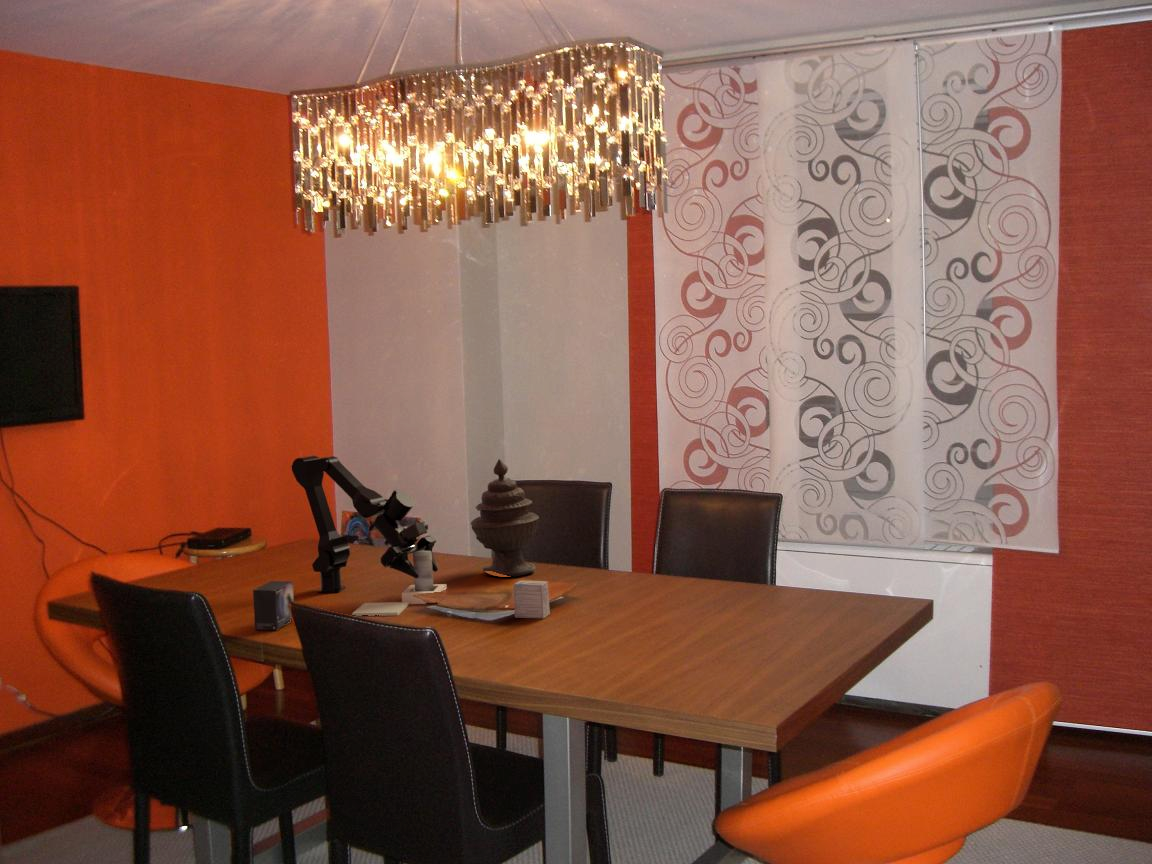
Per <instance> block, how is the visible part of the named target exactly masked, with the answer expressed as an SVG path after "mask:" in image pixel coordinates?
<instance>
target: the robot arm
mask: <svg viewBox="0 0 1152 864" xmlns="http://www.w3.org/2000/svg"><path fill="white" fill-rule="evenodd" d="M291 471H292V474H293V476H294V479H295V480H296V482H297V483H298V484H299V485H300V486H301V487H302V488H303V489H304V491H305V494H306V497H307V500H308V504H309V507H310V510H311V513H312V516H313V521H314V523H315V526H316V529H317V533H318V537H319V539H318V544H317V552H318V555H317V558H316V559H315V560H314V561H313V563H312V564H311V566H312V569H313V572H317V573H319V575H320V588H319V589H318V590H317V591H316V592H318V593H319V592H322V593H324V594H326V592H327V593H340V592H341V591H342V590H344V589H346V587H347V586H346V585H342V573H341V572H342V571H341V568H346V566H347V563H348V559H349V558H350V555H351V552H350V549H351V546H350V545H349V543H348V537H347V536H346V535H345V534H344V535H341V534H339V532H338V530H337V528H336V525H335V522H334V520H333V519H334V518H333V515H332V512H331V509H330V507H329V503H328V500H327V495H326V493H325V490H324V487H323V479H324V476H325V473H326V475H328V477H329V478H330V479H331V480H333V482H334V483H335V484H337V485H338V487H340V489H342V491H344V493H345V494H346V495H347V496H348V497H350V499H351V501H352V505H353V508H354V509H355V511H357V514H358V515H359V516H360V517H362V518H363V519H368V518H374V517H375V519H373V520H371V521H369V526H368V531H369V532H374V531H378V533H380V535H381V536H382V537H383V539H384V540H385V541H384V542H383V544H384V545H385V546H386V547H387V546H389V547H388V548H387V549H386V551H385V552H384V553H383V554H382V555H381V557H380V564H381V565H382V566H383V568H385V569H386V568H390V569H393V570H396V571H398V572H401V573H403V574H406V575H408V576H410V577H413V578H418V577H419V574H418V572H417V571H416V569H415V568H414V564H412V563H411V561H410V560H409V556H408V555H410V554H413V552H416V551H431V552H432V569H433V572H435V573H436V572H438V571H439V568H438V566H437V562H436V559H435V557H434V553H433V548H434V546H435V544H436V543H437V540H436V538H434V536H433V535H427V536H423V537H421V538H420V539H419V537H420V536H422V535H425V534H427V533H428V530H429V525H428V523H427V522H426V521H425V520H424V519H420V520H418V521H416V522H415V523H414V524H412V525H410V526H407V525H405V526H402V525H401V523H400V521H403V520H404V519H405V518H406V517H407V516H408V514H409V513H410V512H411V510H412V509H413V507H415V503H416V502H415V499H414V498H413V497H412V496H411V495H409V494H408V493H406V492H403V491H401V490H400V489H394V490H393V491H392V493H391V495H390V497H388V499H387V498H384V496H382V495H381V494H380V493H378V492H377V491H375V490H373V489H370V488H368V487H366V486H364V485H363V484H362V482H360V481H359V480H358V479H357V478H356V477H355V475H354V474H353V473H352V472H351V471H349V470H348V469H347V468H346V467H345V466H344V465H343V463H342V462H341V461H340V459H339V458H338V457H337V456H333V455H332V456H331V455H330V456H327V457H321V458H320V457H319V456H317V455H308V456H302V457H298V458H297V457H296V458H295V459H294V460H293V461H292V464H291ZM318 593H317V594H318ZM322 593H321V594H322Z"/></svg>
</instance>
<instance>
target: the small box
mask: <svg viewBox="0 0 1152 864" xmlns="http://www.w3.org/2000/svg"><path fill="white" fill-rule="evenodd" d="M252 595H253V596H252V597H253V614H254V615H253V616H254V631H269V630H277V629H279V628H280V627H282V626H284V625H285V624H287V623H288V622H290V620H291V623H293V622H292V618H291V613H290V606H289V603H290V601H294V602H295V599H294V597H295V595H294V581H285V580H283V581H282V580H271V581H269V582H266V583H265V584H262V585H260V586H258V587H255V588H254V589H252ZM284 627H285V626H284ZM282 628H283V627H282ZM279 630H280V629H279ZM277 631H278V630H277Z"/></svg>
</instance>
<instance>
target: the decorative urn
mask: <svg viewBox="0 0 1152 864" xmlns="http://www.w3.org/2000/svg"><path fill="white" fill-rule="evenodd" d="M508 469H509V468H508V466H507V465H506V464H505V463H504V462H503V461H502V460H501V459H500V458H498V460H497V462H496V464H495V465H494V468H493V473H494V475H496V476H498V477H497V479H494V480H493V481H490V482H489V483H488V484H487V490H485V491H483V492H482V494H481V502H480V503H478V504H477V505H476V506H475V509H476V510H477V511H478V512H479V514H480V515H479V516H477V517H476V518H474V519H473V520H471V521H470V525H471V529H472V531H473V533H474V534H475V539H476V540H477V541H479V543H480V544H482V545H483V547H484V548H485V549H487V550H491V551H492V552H494V554H493V558H492V563H491V565H489V566H488V565H487V566H485V567H483V568H482V571H483V572H484V571H493V572H496V573H499V574H503V575H507V576H513V577H512V578H514V577H519V576H525V575H528V574H531V573H532V572H534V571H535V570H536V569H537V566H536V565H535V564H534V563H532V562H531V563H530V562H526V561H525V558H524V555H523V553H522V551H521V550H522V549H524V548H526V547H527V546H529V545H530V542H531V541H532V539H533V538H534V537H535V535H537V530H538V527H539V522H540V521H539V519H540V517H539V515H538V514H536V513H534V512H529V506H530V505H531V504H533V501H532V500H531V499H529V498H526V493H525V491H524V489H522V488H520V487H518V484H517V481H516V480H514V479H511V478H510V477H509V478H508V477H505V476H506V474H507V473H508Z"/></svg>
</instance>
